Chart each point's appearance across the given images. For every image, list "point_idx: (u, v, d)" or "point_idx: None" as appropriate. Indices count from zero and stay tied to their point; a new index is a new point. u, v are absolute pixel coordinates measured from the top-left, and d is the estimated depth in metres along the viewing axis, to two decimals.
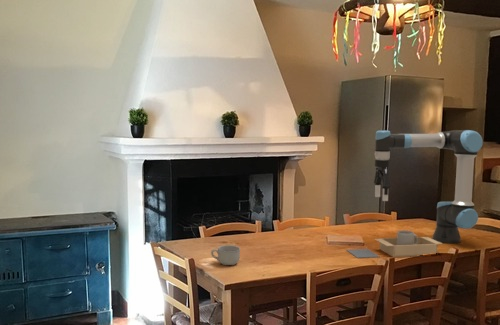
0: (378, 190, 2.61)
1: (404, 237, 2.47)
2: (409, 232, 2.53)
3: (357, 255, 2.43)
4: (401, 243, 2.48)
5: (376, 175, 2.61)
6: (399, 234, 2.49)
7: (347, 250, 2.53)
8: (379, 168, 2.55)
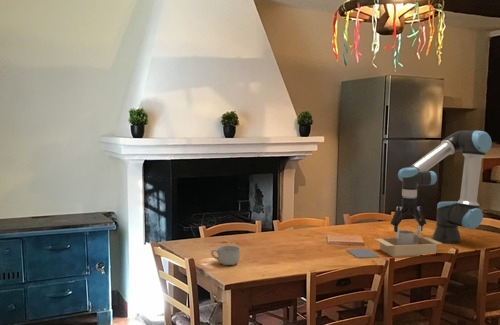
0: (418, 230, 2.52)
1: (404, 237, 2.47)
2: (409, 232, 2.53)
3: (357, 255, 2.43)
4: (401, 243, 2.48)
5: (419, 214, 2.52)
6: (399, 234, 2.49)
7: (347, 250, 2.53)
8: None
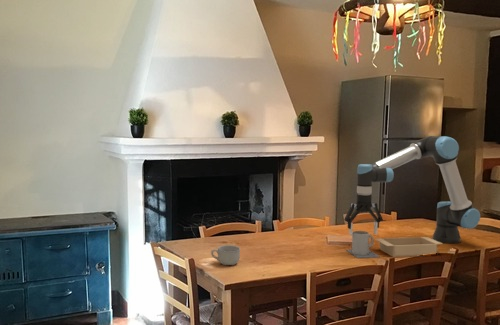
0: (375, 227, 2.48)
1: (358, 237, 2.43)
2: (365, 232, 2.49)
3: (357, 255, 2.43)
4: (355, 243, 2.44)
5: (375, 211, 2.48)
6: (354, 234, 2.45)
7: (347, 250, 2.53)
8: None
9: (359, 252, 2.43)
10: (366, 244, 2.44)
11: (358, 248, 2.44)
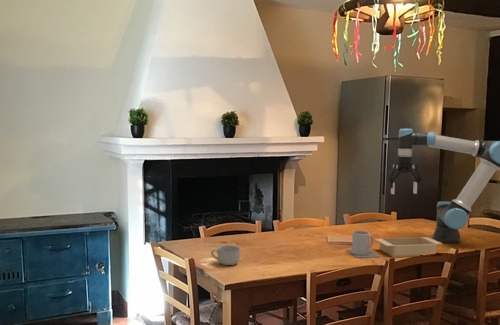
0: (414, 187, 2.68)
1: (358, 237, 2.43)
2: (365, 232, 2.49)
3: (357, 255, 2.43)
4: (355, 243, 2.44)
5: None
6: (354, 234, 2.45)
7: (347, 250, 2.53)
8: None
9: (359, 252, 2.43)
10: (366, 244, 2.44)
11: (358, 248, 2.44)
